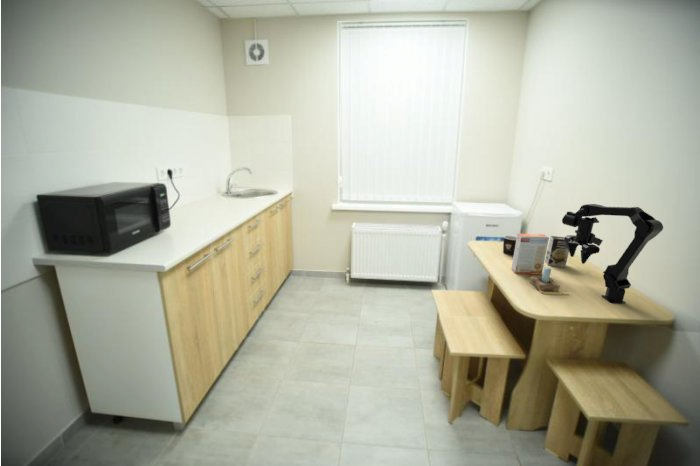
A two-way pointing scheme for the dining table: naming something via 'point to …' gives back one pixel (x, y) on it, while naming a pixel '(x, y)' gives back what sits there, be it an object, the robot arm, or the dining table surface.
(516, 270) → the cracker box
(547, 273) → the light blue cylinder
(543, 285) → the brown square frame
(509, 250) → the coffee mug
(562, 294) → the lace
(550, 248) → the coffee box
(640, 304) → the dining table surface
